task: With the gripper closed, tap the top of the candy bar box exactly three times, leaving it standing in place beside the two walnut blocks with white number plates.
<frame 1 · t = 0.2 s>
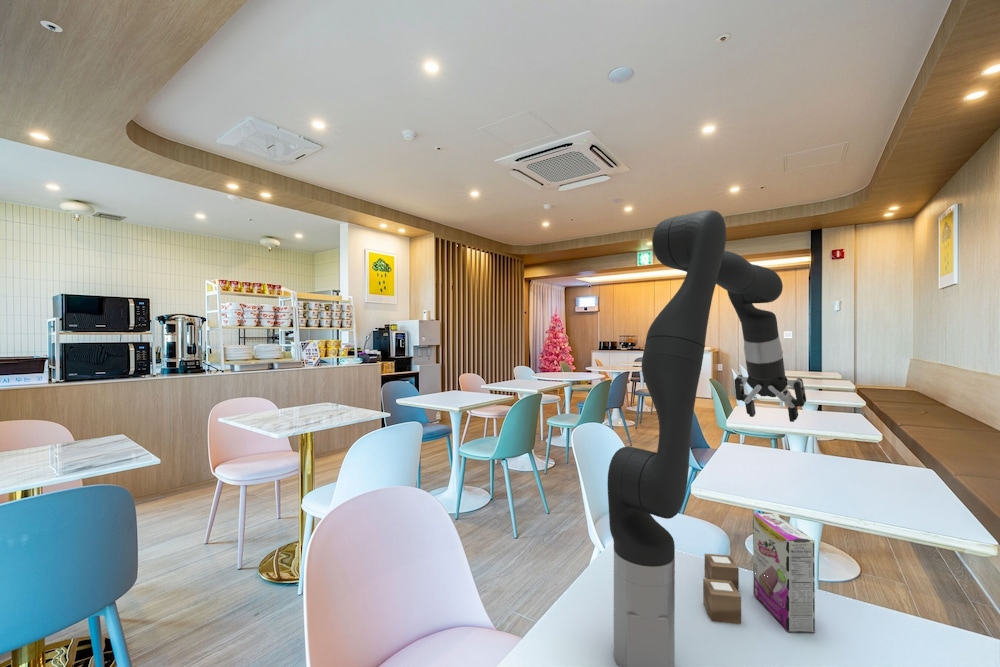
hand: (772, 417, 105), 31 cm above the table, tool tilted 20°, fingers open, 8 cm apart
marked block far: (721, 584, 90), on the table
candy bar box: (781, 614, 81), on the table
marked block near: (721, 614, 81), on the table
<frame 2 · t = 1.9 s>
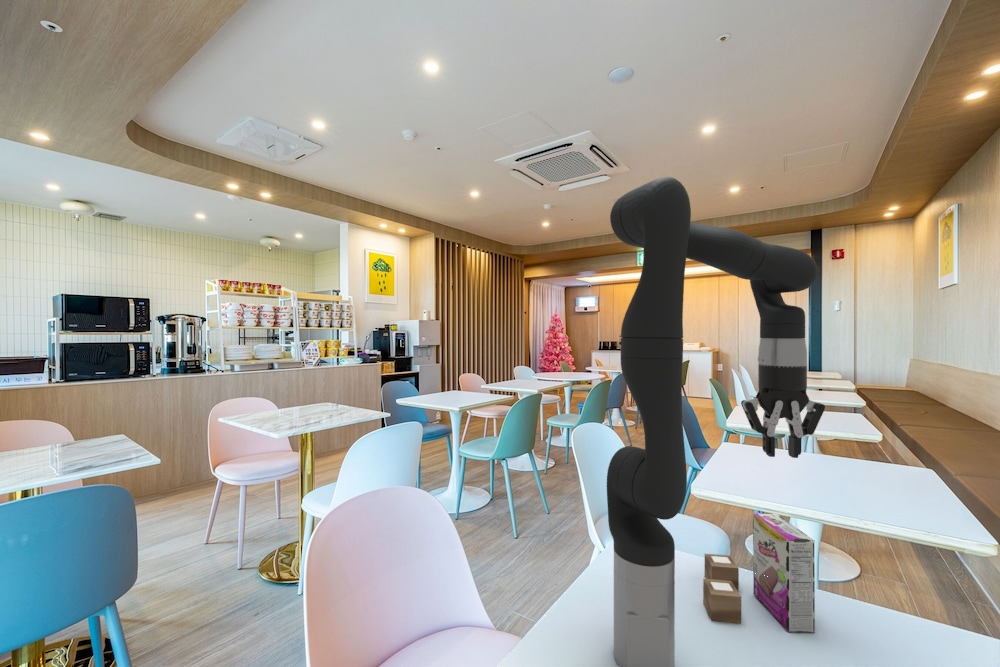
hand: (781, 455, 81), 29 cm above the table, tool pointing down, fingers open, 3 cm apart
nothing on the table moved.
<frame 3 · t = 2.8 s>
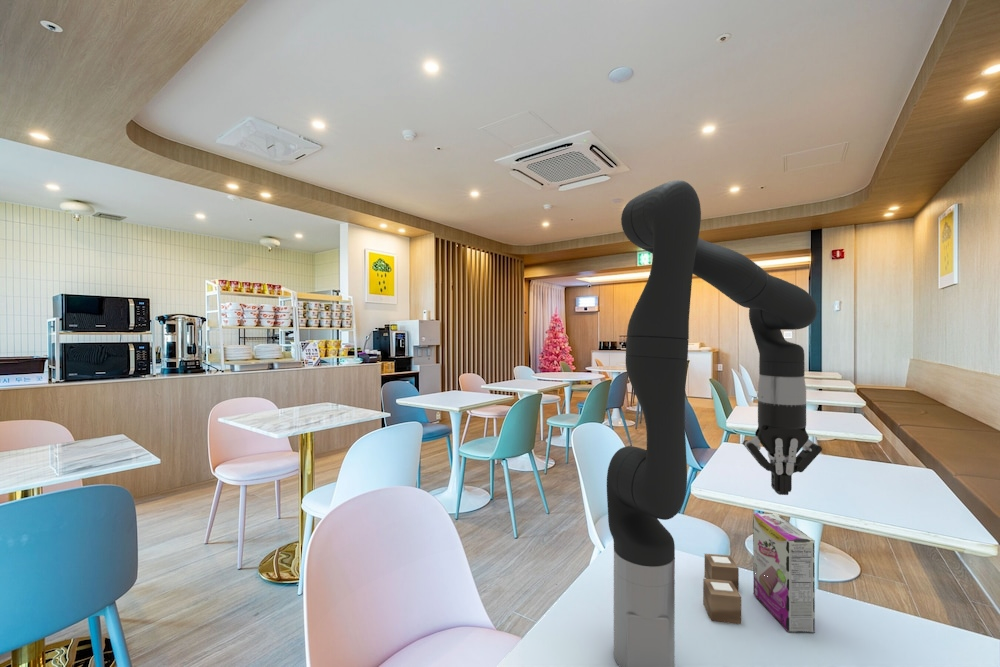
hand: (781, 493, 81), 22 cm above the table, tool pointing down, fingers closed
nothing on the table moved.
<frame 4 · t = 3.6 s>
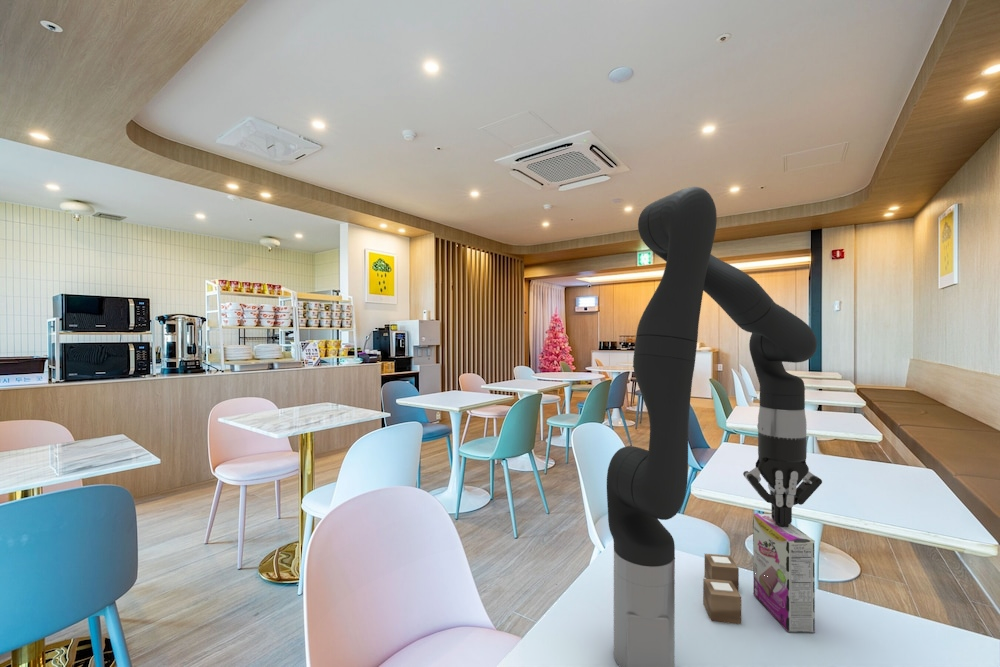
hand: (781, 524, 81), 16 cm above the table, tool pointing down, fingers closed
candy bar box: (781, 614, 81), on the table, touching gripper
everything else where it was.
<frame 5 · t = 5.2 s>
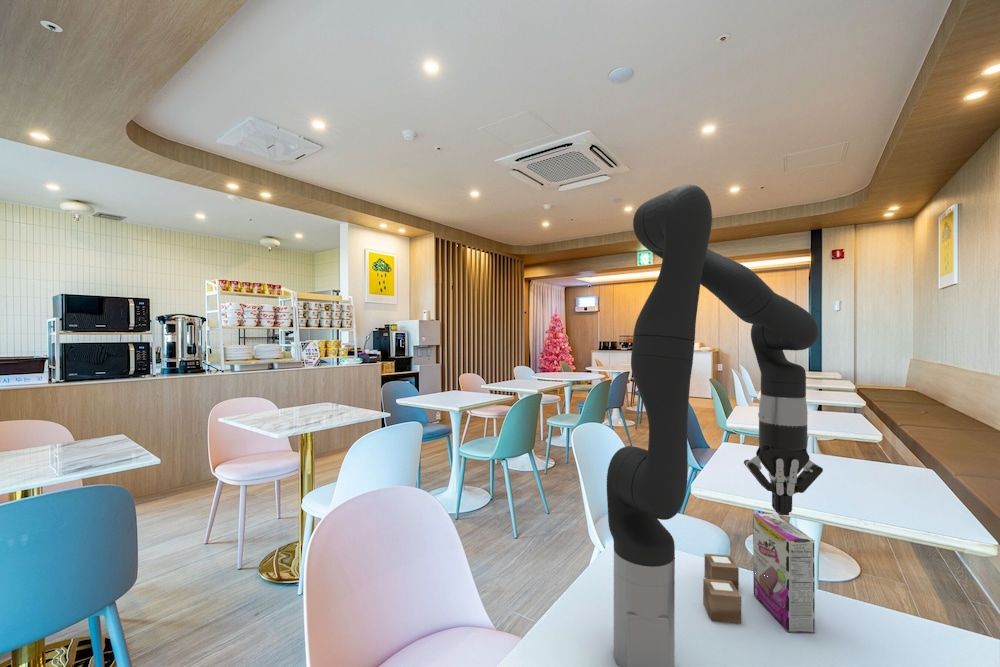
hand: (782, 513, 81), 18 cm above the table, tool pointing down, fingers closed
candy bar box: (781, 614, 81), on the table
everything else where it was.
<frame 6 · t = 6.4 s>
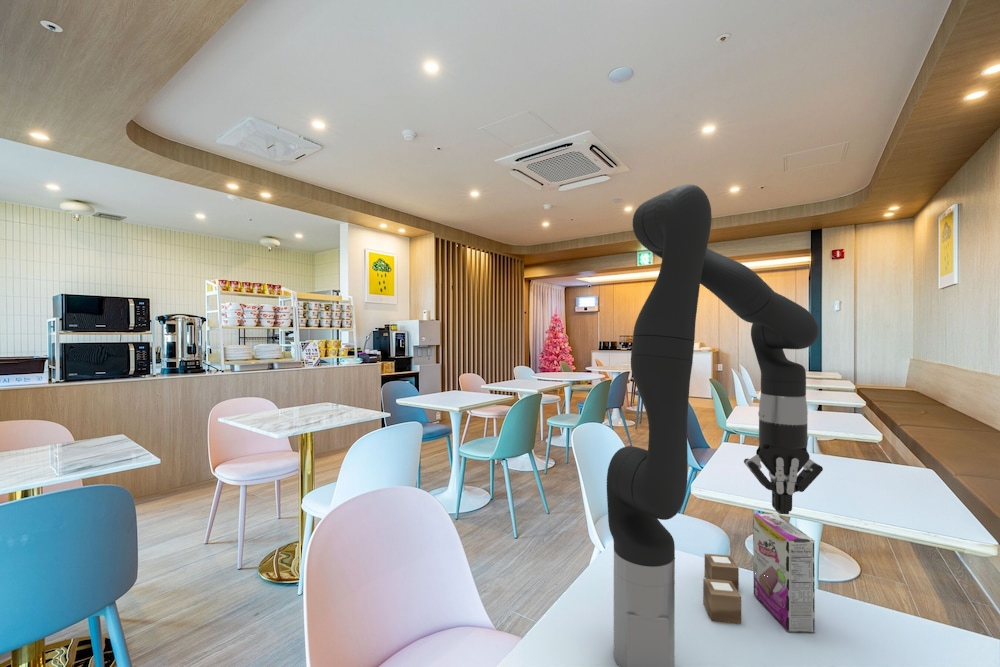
hand: (782, 512, 81), 19 cm above the table, tool pointing down, fingers closed
nothing on the table moved.
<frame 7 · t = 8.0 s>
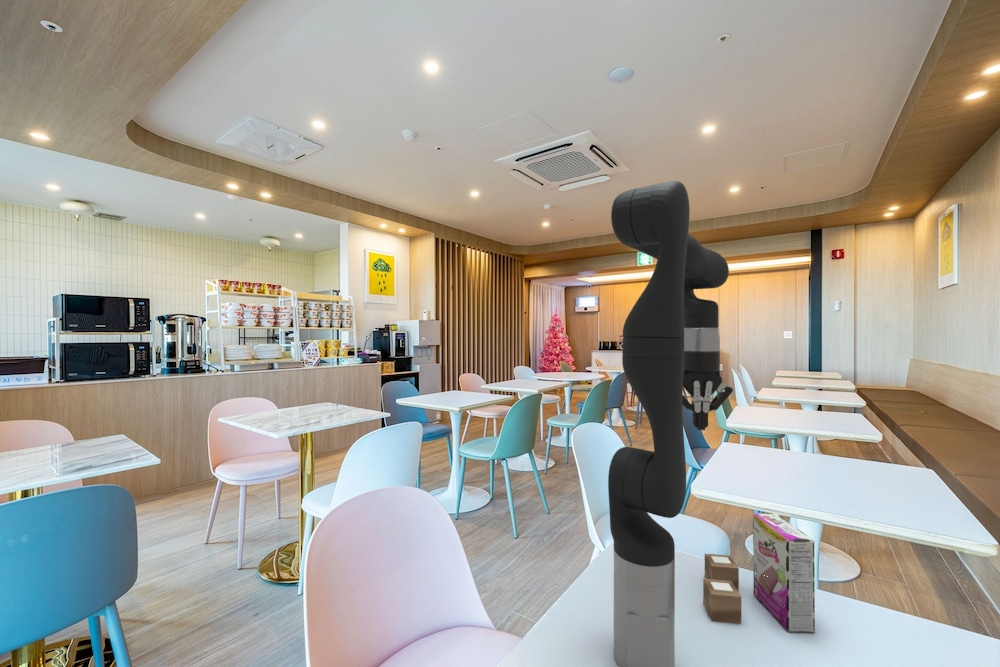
hand: (700, 429, 94), 31 cm above the table, tool pointing down, fingers closed
nothing on the table moved.
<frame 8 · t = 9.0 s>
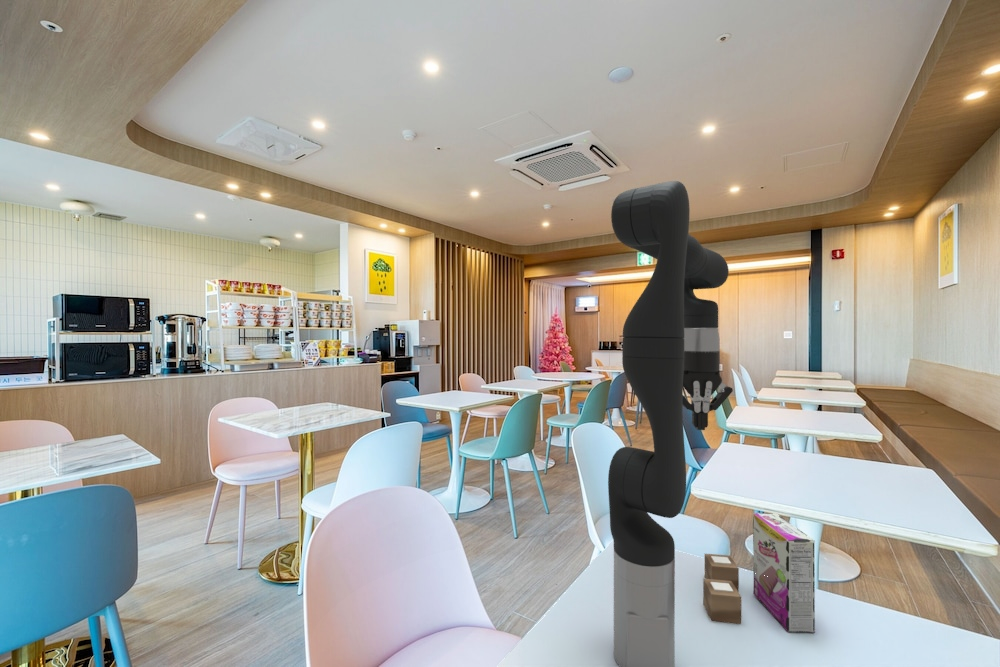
hand: (700, 429, 94), 31 cm above the table, tool pointing down, fingers closed
nothing on the table moved.
at the end: candy bar box moved 0.2 cm from its start; candy bar box tilted 0°; the gripper is holding nothing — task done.
